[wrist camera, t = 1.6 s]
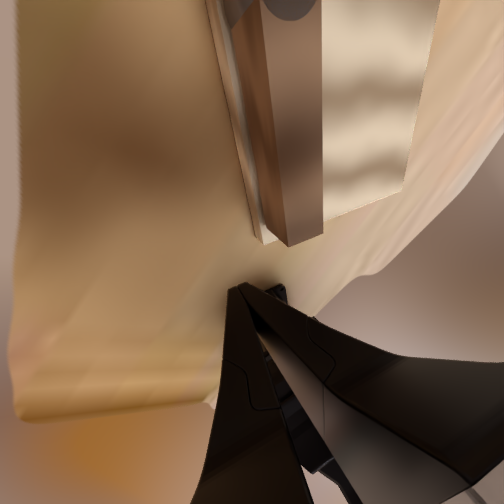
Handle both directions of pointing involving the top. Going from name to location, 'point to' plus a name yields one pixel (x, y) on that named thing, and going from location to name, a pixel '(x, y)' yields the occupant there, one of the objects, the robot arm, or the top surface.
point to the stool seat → (348, 99)
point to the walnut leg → (283, 108)
